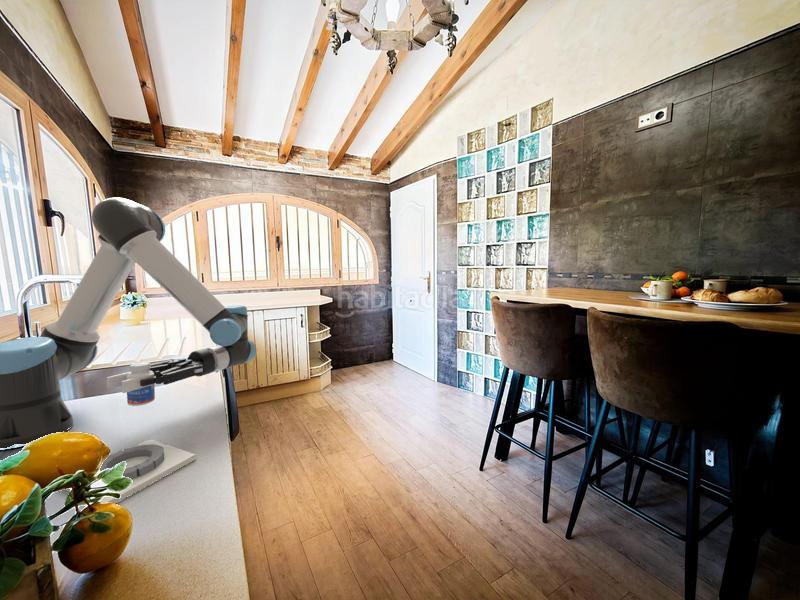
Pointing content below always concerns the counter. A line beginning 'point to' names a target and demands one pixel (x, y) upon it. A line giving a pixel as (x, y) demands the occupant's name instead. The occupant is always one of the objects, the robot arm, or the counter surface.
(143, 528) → the counter surface
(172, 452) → the collar plate
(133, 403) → the pill bottle
